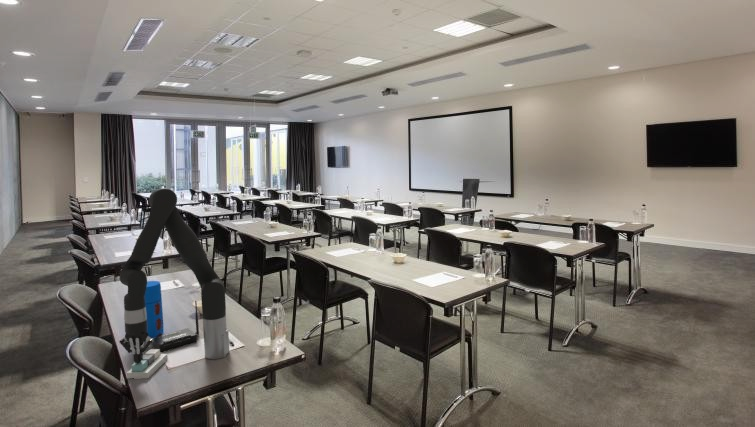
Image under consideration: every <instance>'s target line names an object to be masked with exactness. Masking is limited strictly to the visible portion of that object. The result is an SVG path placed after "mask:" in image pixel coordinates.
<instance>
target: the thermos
mask: <svg viewBox="0 0 755 427" xmlns="http://www.w3.org/2000/svg"><path fill="white" fill-rule="evenodd" d="M145 308H146V313H147V333H148V335H149V337H150V338H154V337H157V336H161V335H164V312H163V300H162V286H161V282H160V281H158V280H147V287H146V292H145Z"/></svg>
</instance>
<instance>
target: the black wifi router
mask: <svg viewBox="0 0 755 427" xmlns="http://www.w3.org/2000/svg"><path fill="white" fill-rule="evenodd" d="M197 303H198V302H197V300H195V303H194V305H195V315H194V316H195V331H196V332H194V331H193V330H191V329H190V328H188V327H187V328H183V329H179V330H177V331H173V332H169V333H166V334H162V335H161V336H157V337H154V339H155V340H154V341H153V343H152V344H151V346H152V347H153V349H160V352H162V353H165V352H164V351H166V352H169V351H172V350H174V349H178V348H183V347H185V346H189V345H192V344H196V343H198V335H200V331H199V327H200V326H199V315H198V307H197V305H198V304H197ZM168 350H169V351H168Z"/></svg>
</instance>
